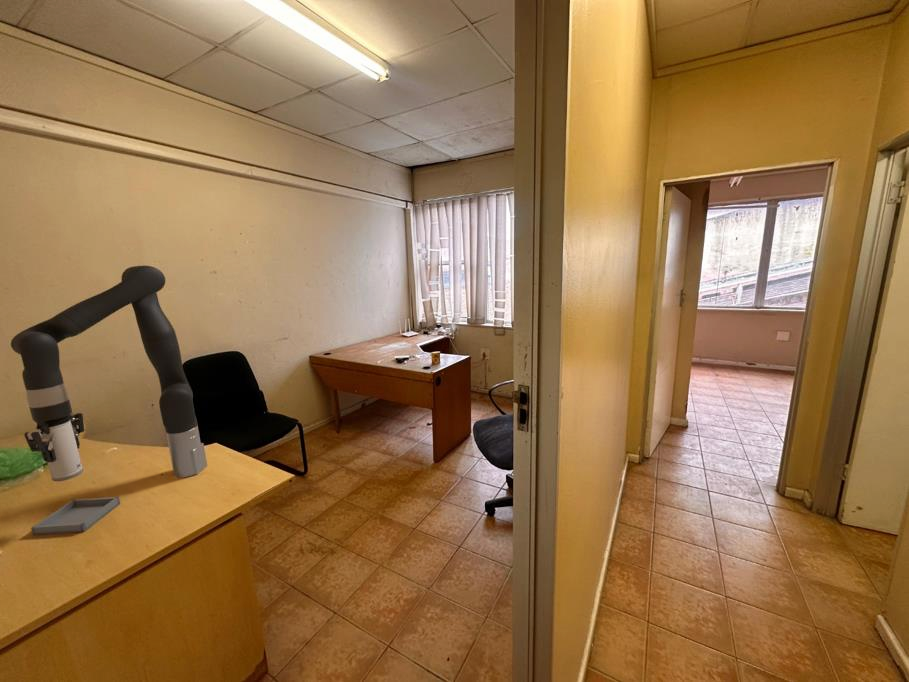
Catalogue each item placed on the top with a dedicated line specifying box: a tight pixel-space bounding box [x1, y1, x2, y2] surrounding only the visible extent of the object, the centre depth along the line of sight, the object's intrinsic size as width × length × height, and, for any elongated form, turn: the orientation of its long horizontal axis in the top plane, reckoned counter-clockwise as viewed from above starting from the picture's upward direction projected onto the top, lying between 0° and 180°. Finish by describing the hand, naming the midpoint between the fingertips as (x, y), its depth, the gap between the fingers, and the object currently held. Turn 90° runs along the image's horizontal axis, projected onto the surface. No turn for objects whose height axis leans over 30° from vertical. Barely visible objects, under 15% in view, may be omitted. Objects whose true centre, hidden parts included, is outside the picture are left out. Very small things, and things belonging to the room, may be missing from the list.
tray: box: [30, 496, 121, 536], centre depth 106 cm, size 13×12×2 cm
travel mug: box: [40, 415, 84, 483], centre depth 102 cm, size 6×7×20 cm
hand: (63, 455), depth 102 cm, fingers closed on travel mug, 6 cm apart
